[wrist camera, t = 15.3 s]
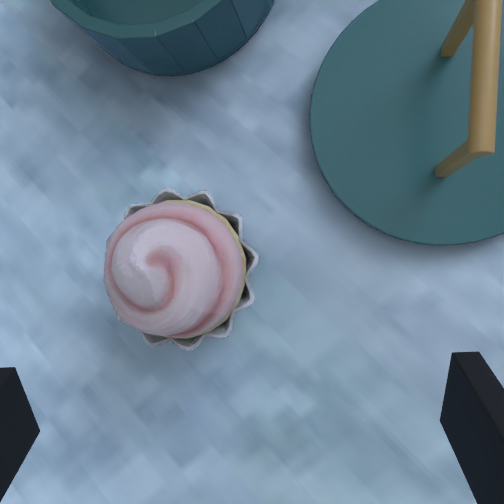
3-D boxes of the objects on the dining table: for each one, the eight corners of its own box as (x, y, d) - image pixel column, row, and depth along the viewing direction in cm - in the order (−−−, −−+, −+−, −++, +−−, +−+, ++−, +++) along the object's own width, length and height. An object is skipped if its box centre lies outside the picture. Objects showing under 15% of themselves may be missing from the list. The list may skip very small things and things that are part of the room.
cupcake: (282, 325, 28) (255, 366, 19) (149, 342, 30) (60, 387, 20) (260, 184, 29) (222, 150, 19) (129, 208, 30) (31, 189, 21)
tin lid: (305, 240, 28) (292, 236, 20) (316, -4, 28) (308, -116, 19) (575, 250, 25) (698, 252, 17) (589, -20, 25) (722, -160, 17)
